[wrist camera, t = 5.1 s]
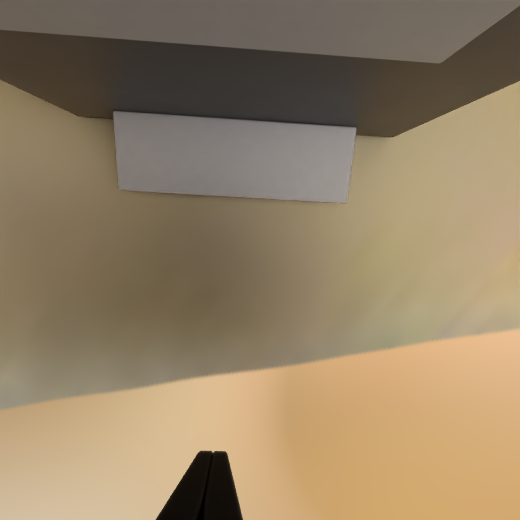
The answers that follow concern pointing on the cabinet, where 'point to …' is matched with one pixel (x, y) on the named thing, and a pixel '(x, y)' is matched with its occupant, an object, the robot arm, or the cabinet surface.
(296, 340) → the cabinet surface
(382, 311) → the cabinet surface
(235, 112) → the grey cube with panel
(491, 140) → the cabinet surface
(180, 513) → the robot arm
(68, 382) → the cabinet surface
